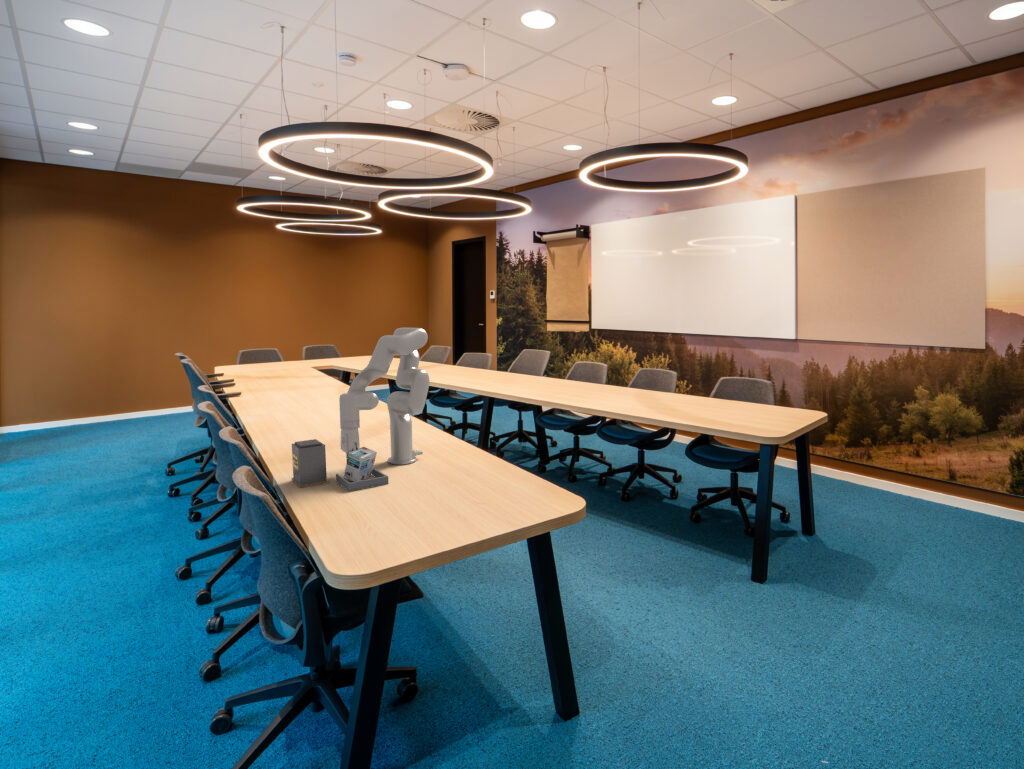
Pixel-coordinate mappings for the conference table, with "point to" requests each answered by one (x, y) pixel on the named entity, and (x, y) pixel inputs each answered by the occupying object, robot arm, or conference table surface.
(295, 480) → the block
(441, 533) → the conference table surface
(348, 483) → the bay
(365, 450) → the light bulb box
